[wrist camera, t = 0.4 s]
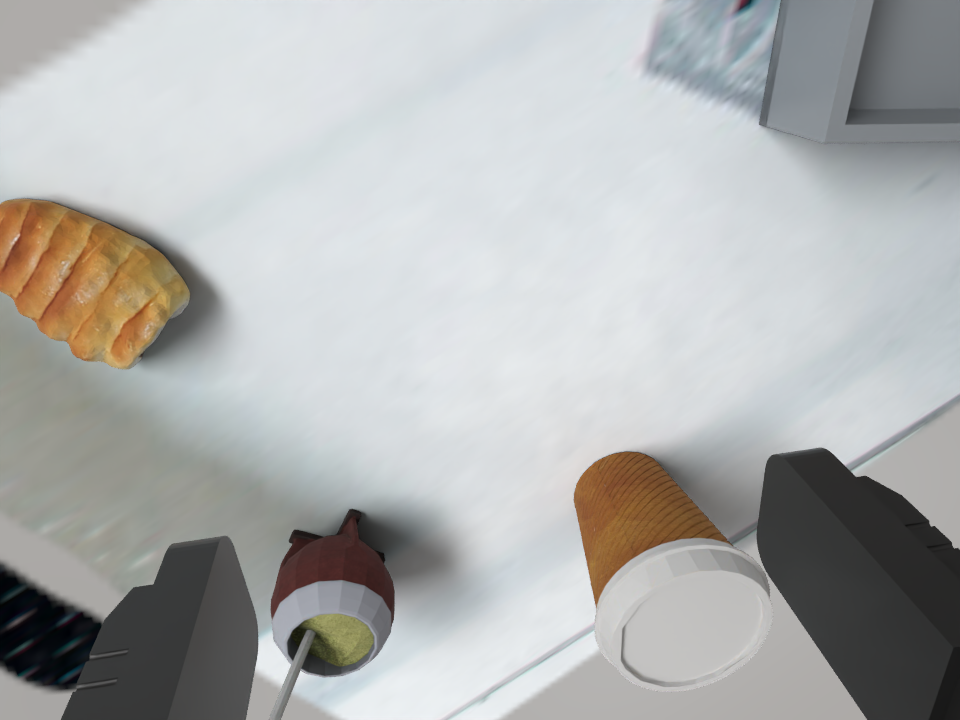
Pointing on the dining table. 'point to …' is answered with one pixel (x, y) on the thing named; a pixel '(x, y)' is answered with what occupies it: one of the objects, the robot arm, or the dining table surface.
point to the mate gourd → (330, 605)
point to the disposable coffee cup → (665, 579)
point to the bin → (865, 71)
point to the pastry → (86, 281)
